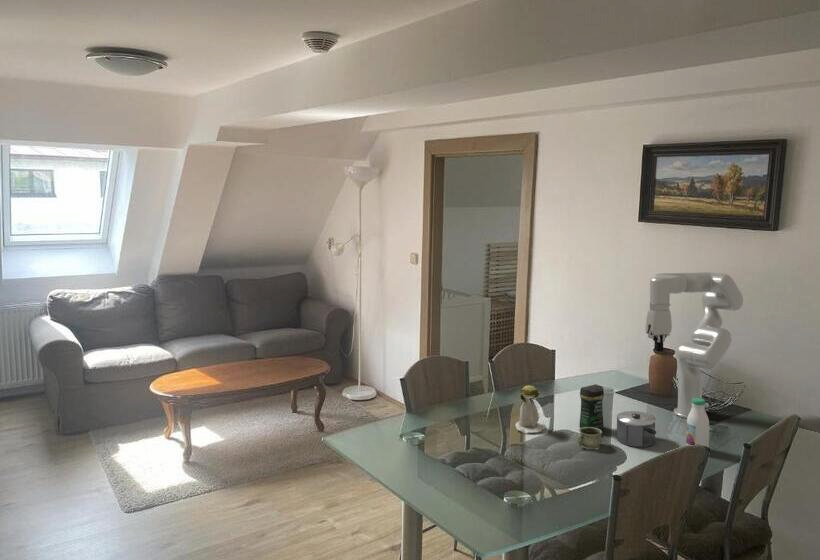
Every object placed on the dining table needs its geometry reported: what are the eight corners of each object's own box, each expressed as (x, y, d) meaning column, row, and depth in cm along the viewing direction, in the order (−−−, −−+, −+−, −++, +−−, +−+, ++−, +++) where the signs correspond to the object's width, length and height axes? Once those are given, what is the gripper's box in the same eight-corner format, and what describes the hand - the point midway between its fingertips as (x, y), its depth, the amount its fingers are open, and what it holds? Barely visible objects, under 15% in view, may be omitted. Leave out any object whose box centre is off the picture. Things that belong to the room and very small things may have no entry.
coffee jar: (590, 434, 254) (590, 390, 252) (576, 428, 261) (576, 385, 259) (607, 429, 259) (607, 385, 257) (592, 423, 266) (592, 381, 264)
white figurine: (511, 432, 260) (511, 389, 257) (520, 421, 271) (519, 381, 269) (540, 435, 255) (539, 392, 252) (547, 425, 266) (547, 383, 264)
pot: (634, 428, 258) (634, 409, 257) (670, 445, 240) (670, 424, 239) (604, 435, 253) (605, 415, 252) (640, 452, 235) (640, 431, 234)
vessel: (585, 453, 236) (585, 437, 236) (570, 444, 245) (570, 429, 244) (610, 447, 241) (610, 431, 240) (595, 439, 249) (595, 424, 248)
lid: (638, 411, 255) (638, 406, 254) (665, 422, 242) (665, 417, 241) (609, 417, 249) (609, 412, 249) (634, 428, 236) (634, 423, 236)
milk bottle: (707, 447, 237) (708, 396, 235) (709, 455, 230) (711, 403, 227) (685, 445, 240) (686, 395, 237) (687, 453, 232) (688, 401, 230)
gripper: (666, 304, 261) (665, 346, 263) (638, 307, 255) (638, 351, 257) (680, 306, 254) (679, 350, 256) (652, 310, 248) (651, 355, 250)
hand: (658, 350), depth 257 cm, fingers closed
